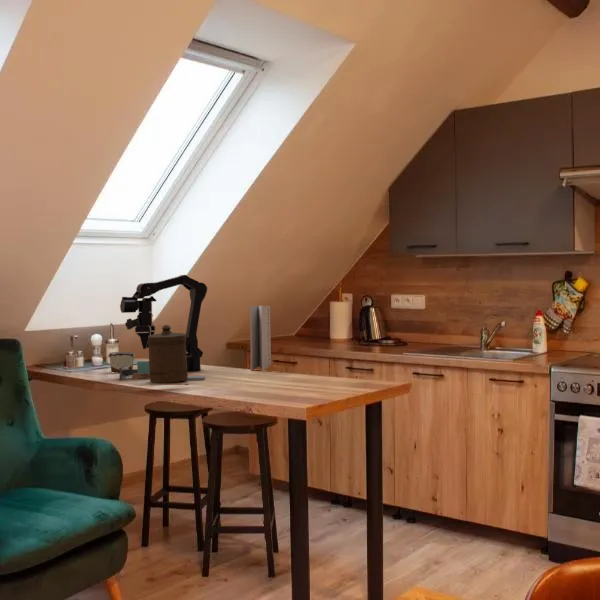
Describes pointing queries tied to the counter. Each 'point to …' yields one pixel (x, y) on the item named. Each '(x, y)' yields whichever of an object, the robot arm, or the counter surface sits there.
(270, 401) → the counter surface
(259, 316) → the grey tall angular piece
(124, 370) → the rack
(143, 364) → the block
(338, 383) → the counter surface
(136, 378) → the board
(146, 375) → the offcut top
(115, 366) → the food container
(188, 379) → the mat
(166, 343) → the wooden container
